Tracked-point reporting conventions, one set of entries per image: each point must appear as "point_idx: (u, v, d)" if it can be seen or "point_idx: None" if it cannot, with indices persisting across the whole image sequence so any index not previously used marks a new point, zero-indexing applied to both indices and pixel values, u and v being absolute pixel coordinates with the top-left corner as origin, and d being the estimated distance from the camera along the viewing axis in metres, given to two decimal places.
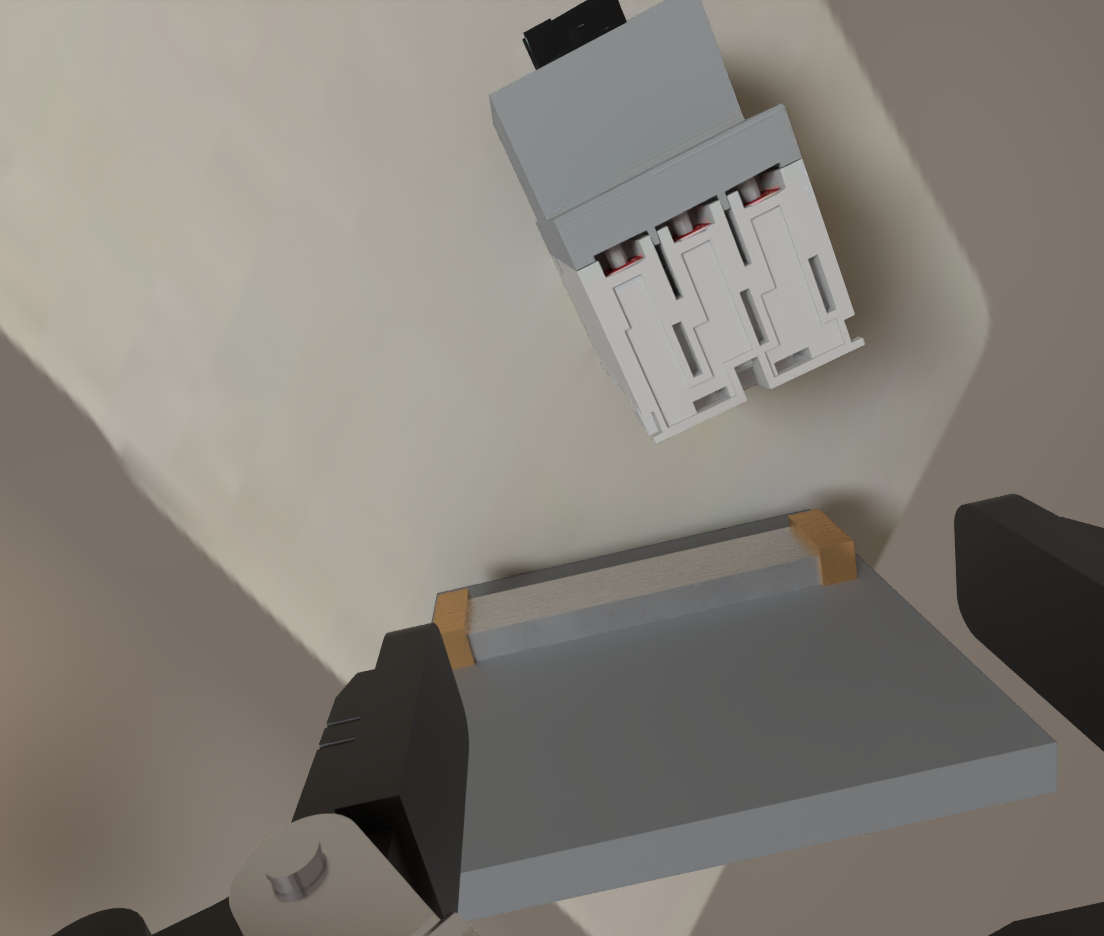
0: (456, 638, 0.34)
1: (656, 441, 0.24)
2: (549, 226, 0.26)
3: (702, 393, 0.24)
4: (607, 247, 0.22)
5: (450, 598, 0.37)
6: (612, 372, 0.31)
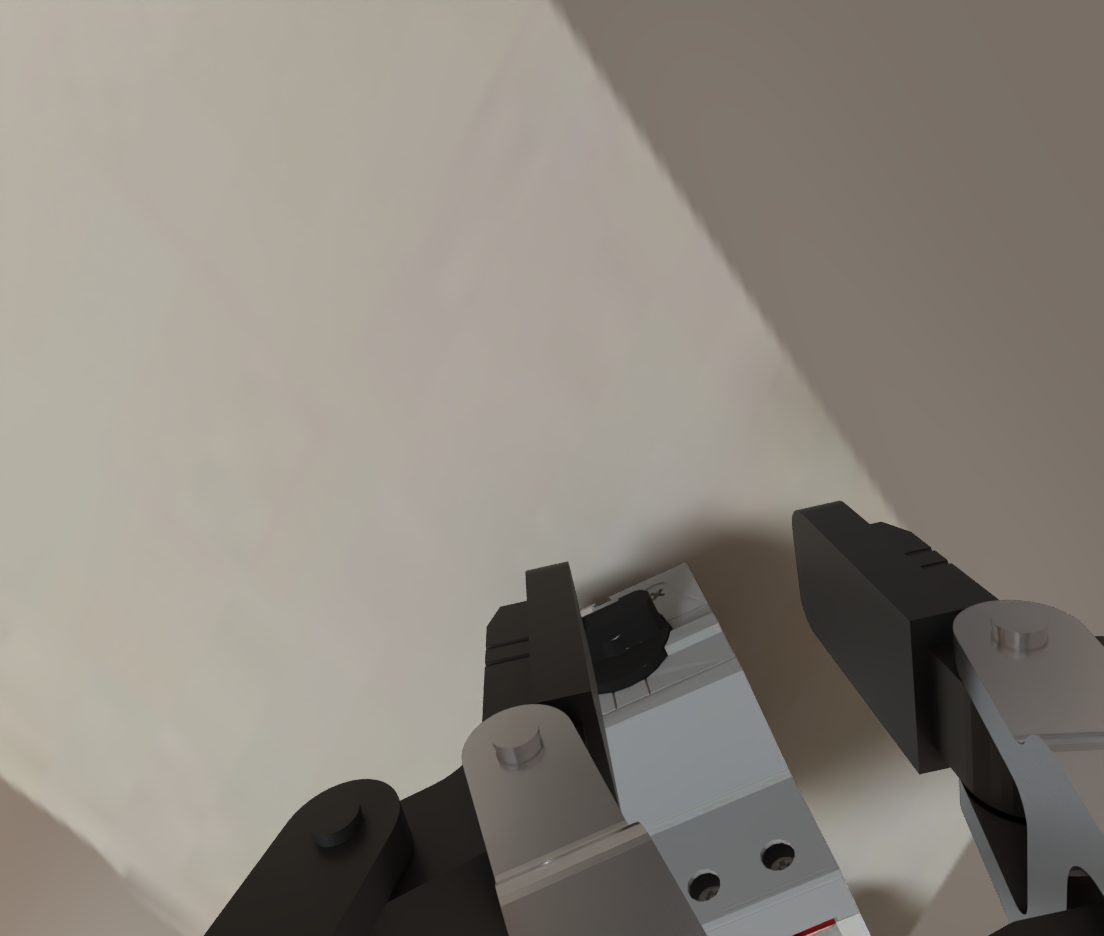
0: None
1: None
2: None
3: None
4: None
5: None
6: None
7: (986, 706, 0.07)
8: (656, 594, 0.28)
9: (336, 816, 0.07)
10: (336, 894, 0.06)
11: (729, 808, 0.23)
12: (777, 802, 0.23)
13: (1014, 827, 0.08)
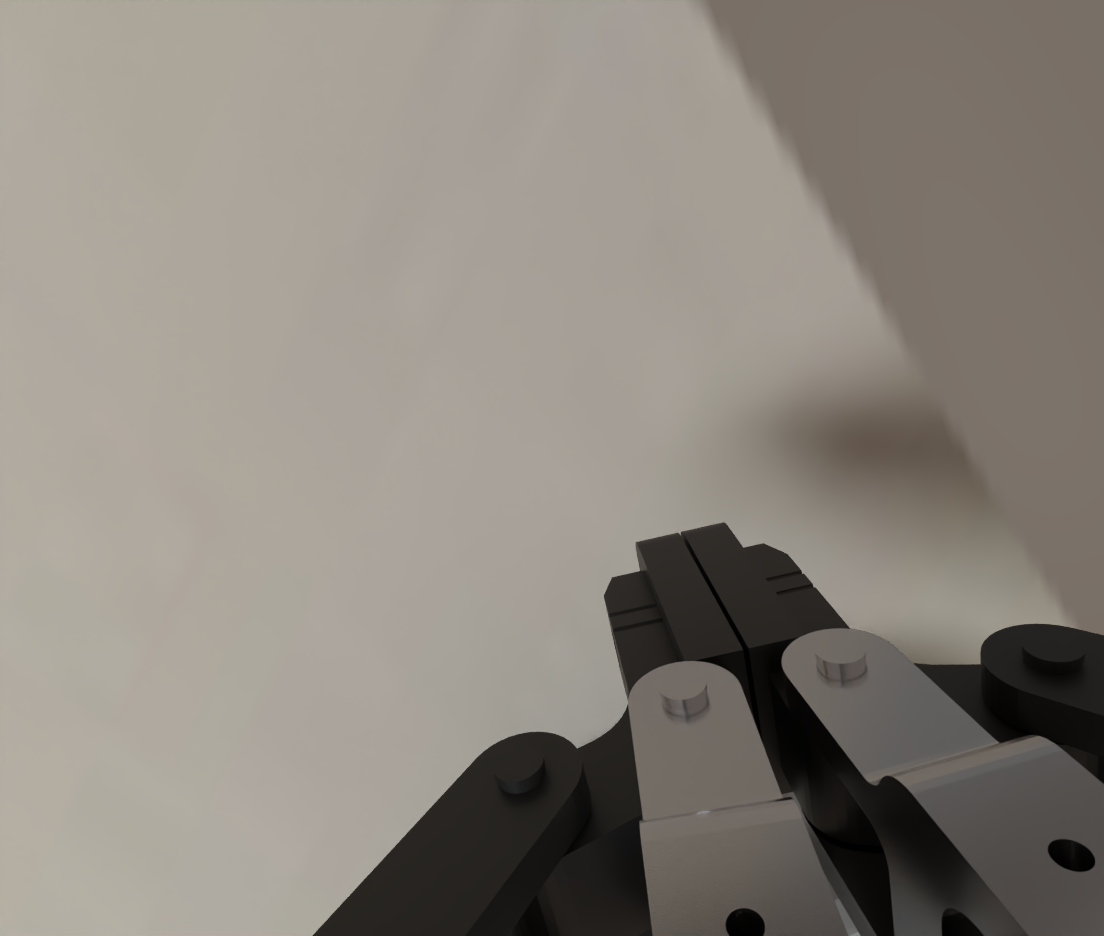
0: None
1: None
2: None
3: None
4: None
5: None
6: None
7: (829, 745, 0.07)
8: None
9: (520, 766, 0.07)
10: (540, 837, 0.06)
11: None
12: None
13: (861, 857, 0.08)
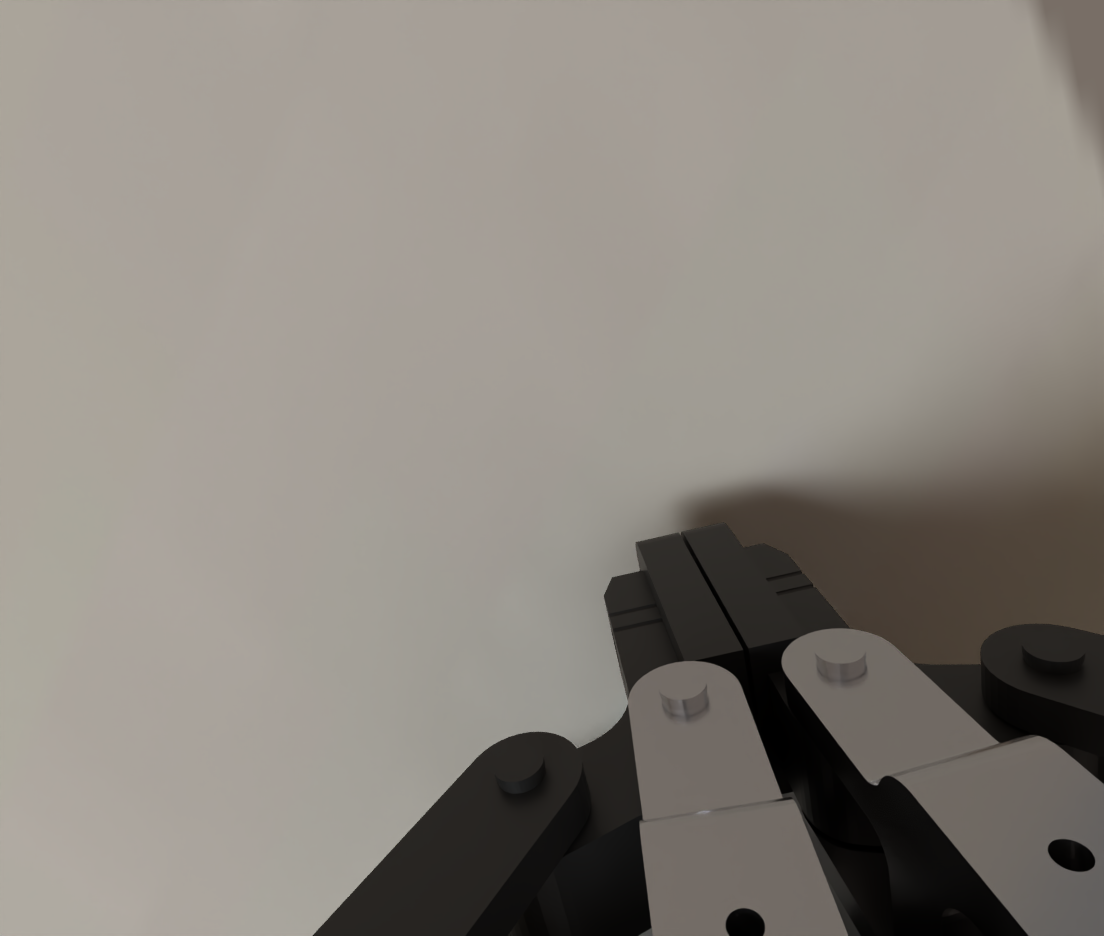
0: None
1: None
2: None
3: None
4: None
5: None
6: None
7: (829, 746, 0.07)
8: None
9: (521, 766, 0.07)
10: (540, 837, 0.06)
11: None
12: None
13: (861, 857, 0.08)
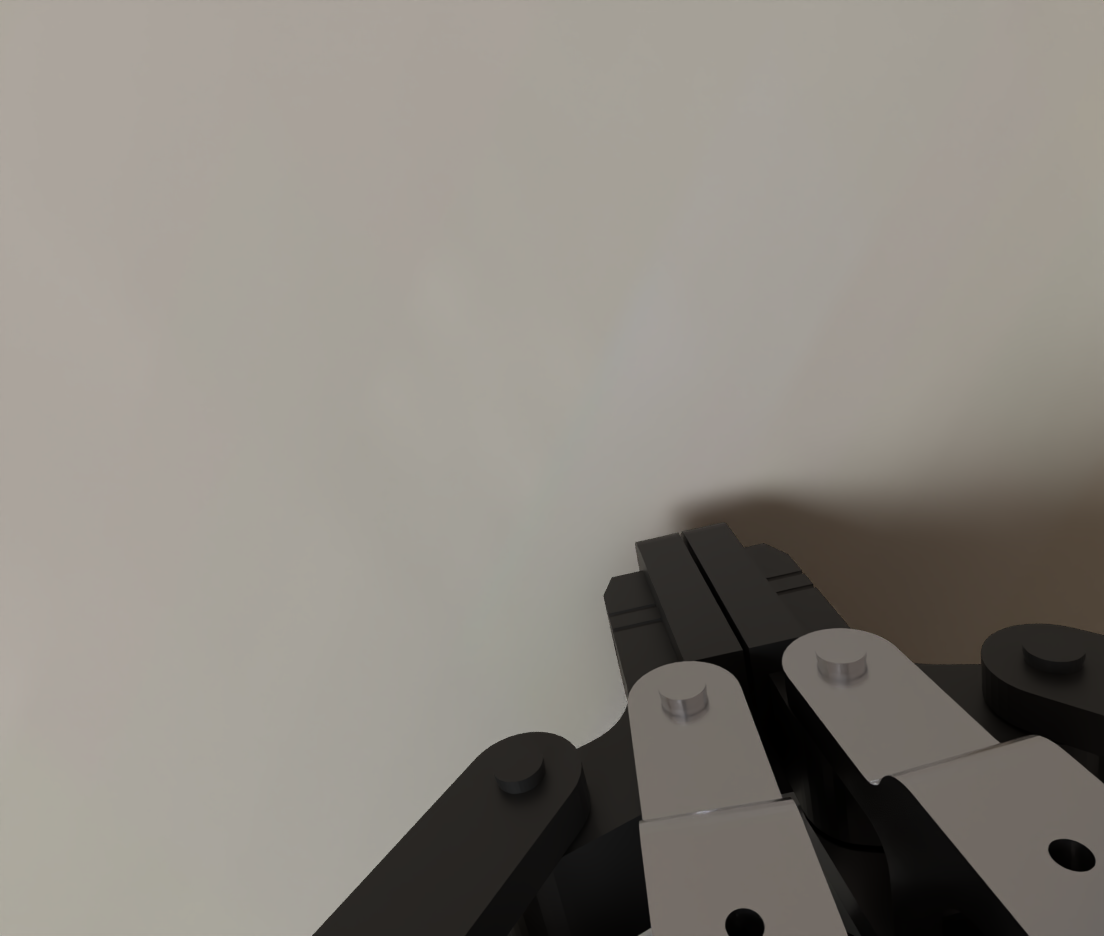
0: None
1: None
2: None
3: None
4: None
5: None
6: None
7: (829, 746, 0.07)
8: None
9: (519, 766, 0.07)
10: (539, 837, 0.06)
11: None
12: None
13: (862, 857, 0.08)
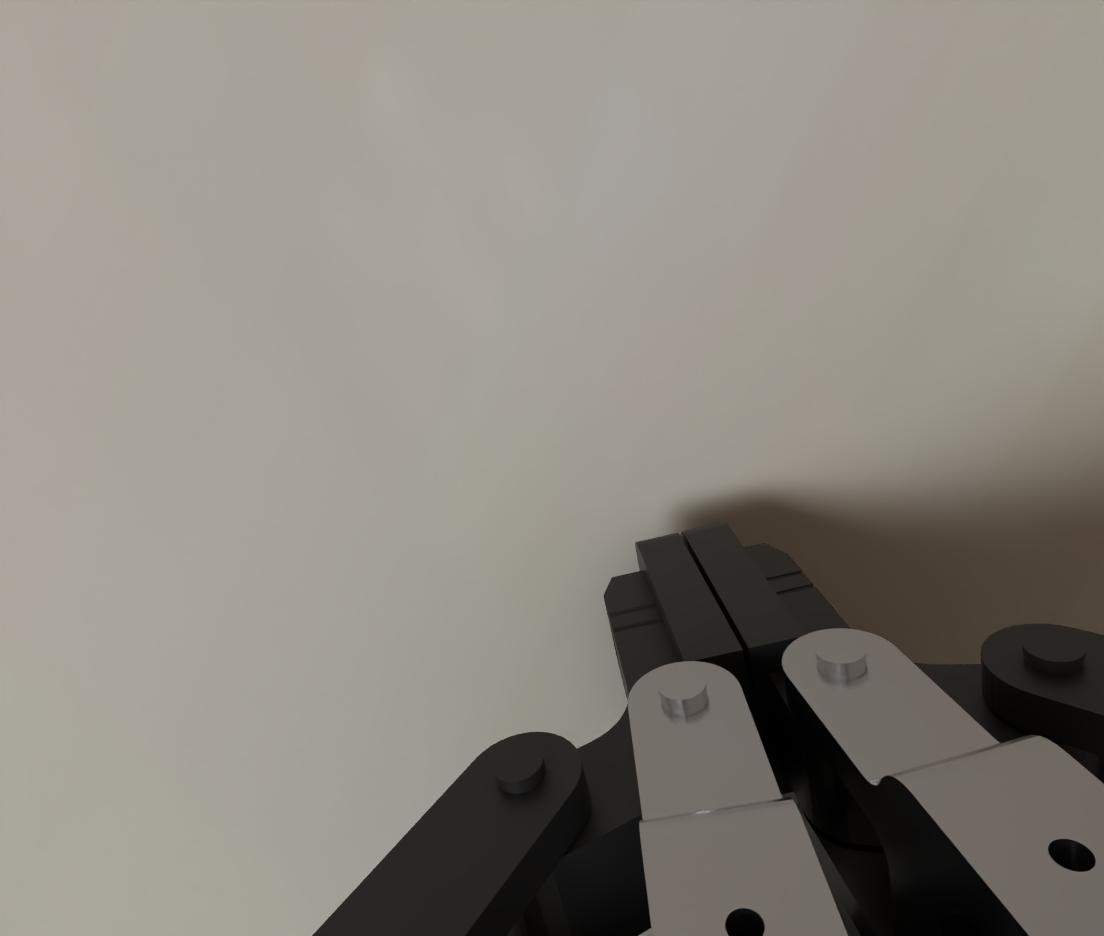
0: None
1: None
2: None
3: None
4: None
5: None
6: None
7: (830, 746, 0.07)
8: None
9: (519, 766, 0.07)
10: (539, 837, 0.06)
11: None
12: None
13: (862, 857, 0.08)
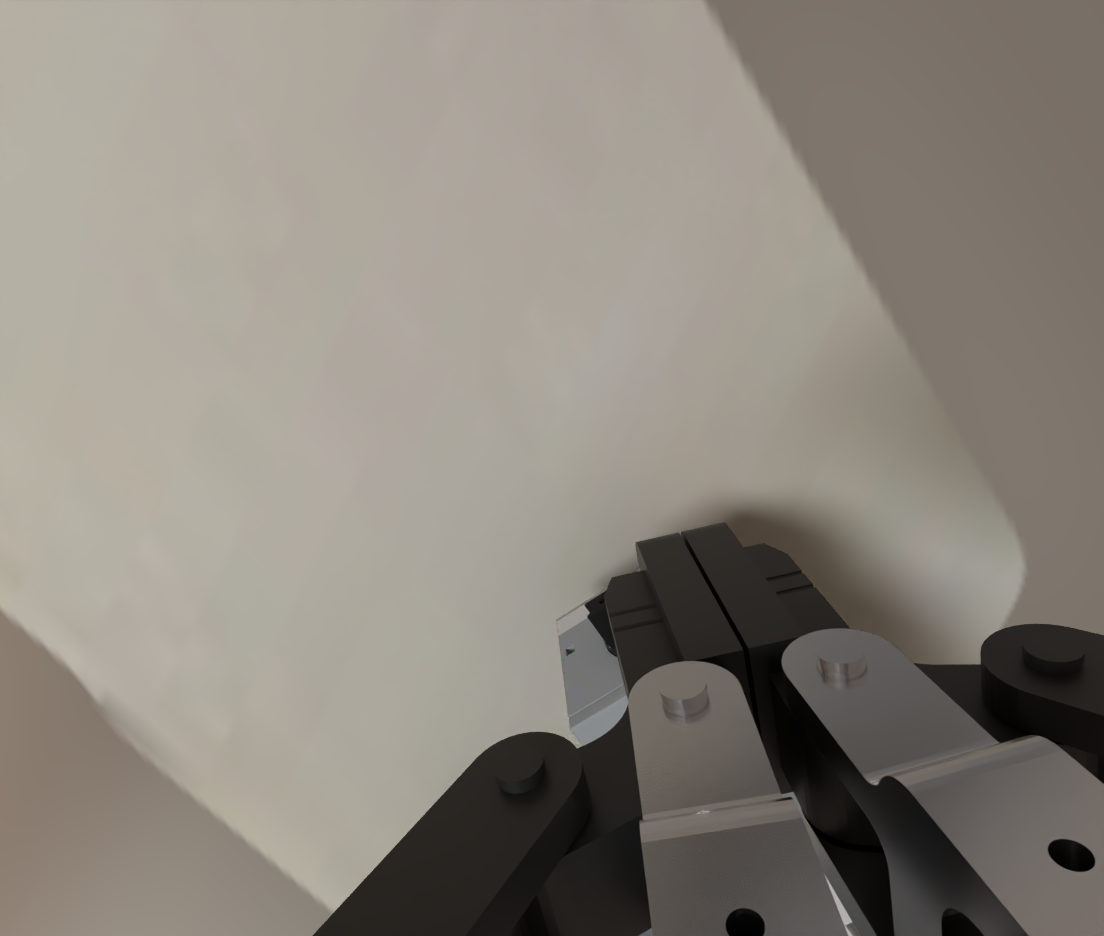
0: None
1: None
2: None
3: None
4: None
5: None
6: None
7: (829, 745, 0.07)
8: None
9: (520, 766, 0.07)
10: (540, 837, 0.06)
11: None
12: None
13: (861, 857, 0.08)
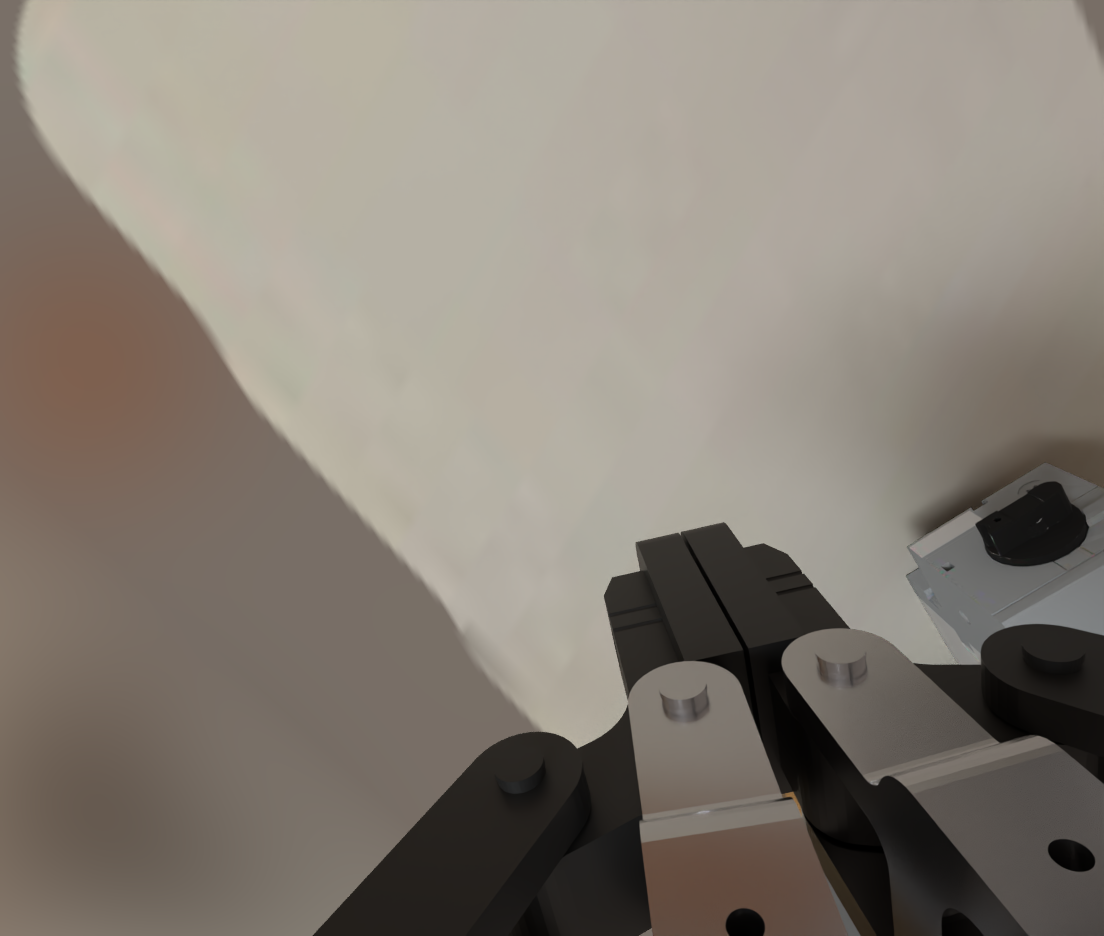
0: None
1: None
2: None
3: None
4: None
5: None
6: None
7: (829, 746, 0.07)
8: None
9: (520, 766, 0.07)
10: (540, 837, 0.06)
11: None
12: None
13: (861, 857, 0.08)
